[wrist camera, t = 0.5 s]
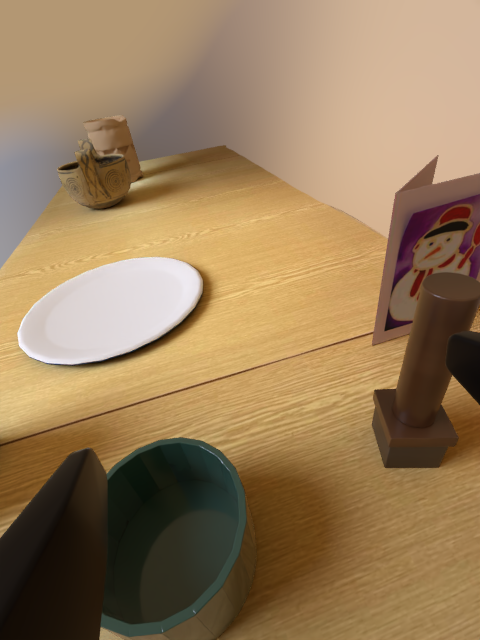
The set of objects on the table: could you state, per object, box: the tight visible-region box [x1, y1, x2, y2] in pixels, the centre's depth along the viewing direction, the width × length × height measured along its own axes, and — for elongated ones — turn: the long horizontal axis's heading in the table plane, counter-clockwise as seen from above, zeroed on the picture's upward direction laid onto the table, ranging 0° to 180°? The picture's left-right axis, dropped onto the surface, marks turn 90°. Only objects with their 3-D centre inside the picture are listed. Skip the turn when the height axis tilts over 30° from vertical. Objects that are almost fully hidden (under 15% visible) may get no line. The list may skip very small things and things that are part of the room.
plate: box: [18, 257, 203, 366], centre depth 45 cm, size 25×25×1 cm
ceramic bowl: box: [57, 139, 131, 209], centre depth 83 cm, size 22×17×15 cm
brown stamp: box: [372, 272, 480, 468], centre depth 20 cm, size 4×4×14 cm
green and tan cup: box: [101, 437, 257, 640], centre depth 19 cm, size 9×9×6 cm
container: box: [84, 115, 143, 182], centre depth 104 cm, size 13×13×18 cm
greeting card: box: [372, 155, 480, 345], centre depth 31 cm, size 11×7×15 cm, turn 106°
